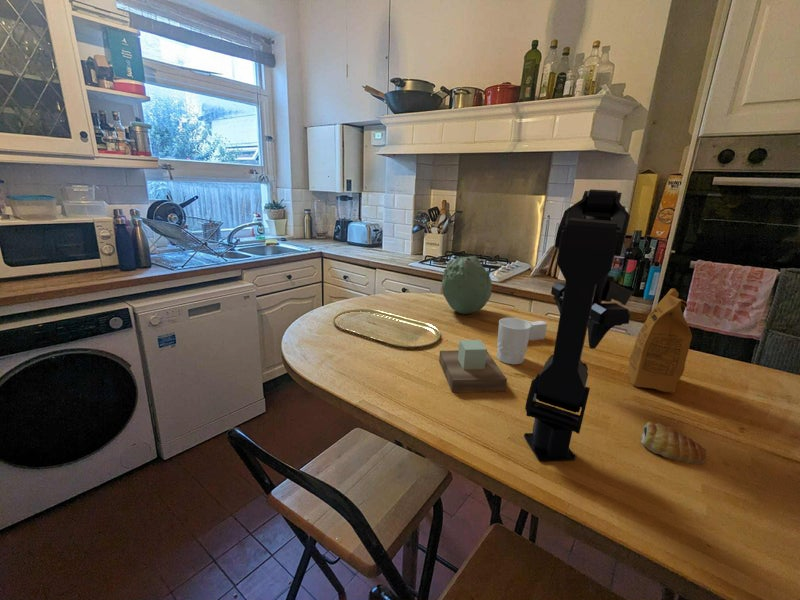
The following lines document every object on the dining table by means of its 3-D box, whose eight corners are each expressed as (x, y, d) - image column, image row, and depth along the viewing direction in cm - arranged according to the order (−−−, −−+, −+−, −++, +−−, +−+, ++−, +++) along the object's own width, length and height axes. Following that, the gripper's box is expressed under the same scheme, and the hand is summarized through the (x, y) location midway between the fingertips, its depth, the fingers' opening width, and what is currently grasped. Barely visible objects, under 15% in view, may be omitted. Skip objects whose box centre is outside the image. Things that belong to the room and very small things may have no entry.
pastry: (701, 450, 66) (708, 432, 65) (706, 474, 61) (714, 455, 59) (640, 430, 71) (645, 413, 69) (639, 451, 65) (645, 433, 64)
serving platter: (420, 358, 96) (420, 352, 95) (320, 326, 113) (320, 321, 113) (450, 334, 111) (451, 329, 111) (358, 309, 129) (359, 305, 128)
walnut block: (505, 391, 82) (506, 379, 81) (451, 392, 80) (452, 380, 79) (485, 360, 95) (486, 350, 94) (439, 361, 94) (439, 350, 93)
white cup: (527, 367, 92) (533, 330, 89) (495, 363, 94) (499, 327, 90) (524, 353, 99) (529, 319, 96) (493, 350, 101) (498, 316, 98)
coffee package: (672, 375, 91) (698, 290, 84) (678, 399, 81) (708, 305, 74) (626, 364, 96) (647, 282, 89) (625, 386, 86) (650, 295, 79)
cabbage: (498, 312, 130) (505, 256, 123) (468, 326, 117) (474, 263, 110) (461, 301, 140) (466, 248, 133) (429, 312, 127) (433, 255, 120)
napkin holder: (497, 343, 106) (500, 324, 105) (502, 329, 117) (504, 312, 115) (553, 353, 101) (557, 334, 100) (553, 337, 112) (556, 320, 110)
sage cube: (484, 369, 84) (487, 349, 83) (463, 369, 84) (465, 349, 82) (478, 358, 89) (480, 339, 88) (457, 359, 89) (459, 340, 87)
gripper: (666, 281, 67) (645, 358, 72) (601, 258, 85) (587, 321, 90) (610, 281, 66) (592, 359, 71) (555, 258, 83) (544, 322, 88)
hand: (579, 338), depth 80 cm, fingers open, 9 cm apart
